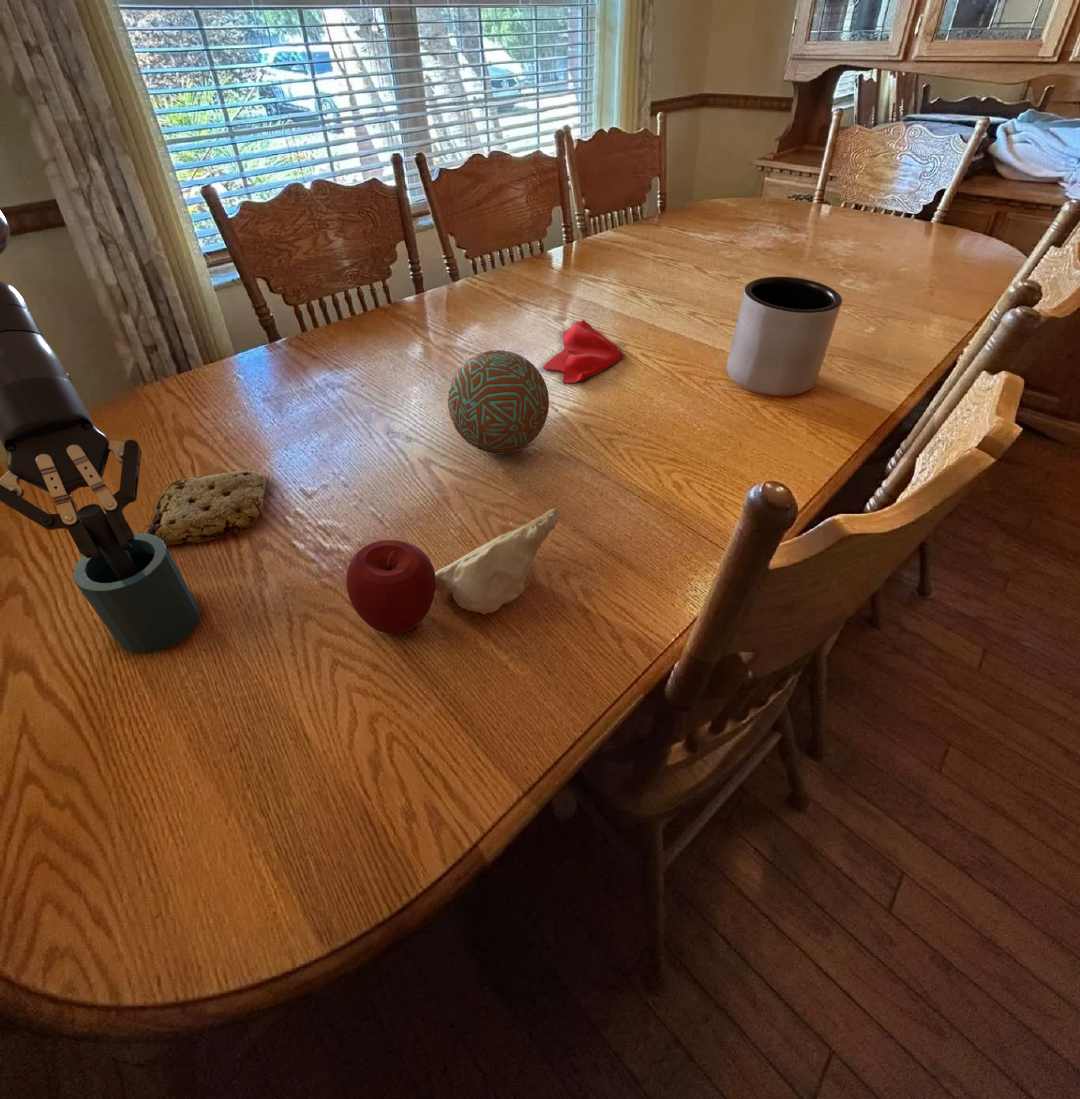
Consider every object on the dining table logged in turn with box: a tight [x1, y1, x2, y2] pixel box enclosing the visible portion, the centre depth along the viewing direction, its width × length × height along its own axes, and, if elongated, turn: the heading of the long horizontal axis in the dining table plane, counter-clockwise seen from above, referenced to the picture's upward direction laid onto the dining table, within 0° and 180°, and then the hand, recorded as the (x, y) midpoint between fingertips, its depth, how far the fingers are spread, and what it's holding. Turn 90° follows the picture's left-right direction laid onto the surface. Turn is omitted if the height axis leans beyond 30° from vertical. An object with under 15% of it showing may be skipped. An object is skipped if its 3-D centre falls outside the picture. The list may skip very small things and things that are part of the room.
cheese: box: [435, 507, 561, 615], centre depth 74 cm, size 15×7×15 cm
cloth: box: [542, 319, 624, 384], centre depth 122 cm, size 26×14×2 cm, turn 164°
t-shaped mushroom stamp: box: [77, 503, 140, 581], centre depth 65 cm, size 4×3×13 cm
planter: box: [726, 276, 843, 397], centre depth 110 cm, size 16×16×16 cm
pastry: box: [145, 469, 267, 547], centre depth 86 cm, size 17×17×3 cm
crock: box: [72, 532, 201, 655], centre depth 68 cm, size 9×9×10 cm
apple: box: [345, 539, 436, 635], centre depth 69 cm, size 10×10×10 cm
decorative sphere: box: [447, 349, 550, 455], centre depth 94 cm, size 15×15×15 cm
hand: (113, 553), depth 62 cm, fingers closed on t-shaped mushroom stamp, 2 cm apart
